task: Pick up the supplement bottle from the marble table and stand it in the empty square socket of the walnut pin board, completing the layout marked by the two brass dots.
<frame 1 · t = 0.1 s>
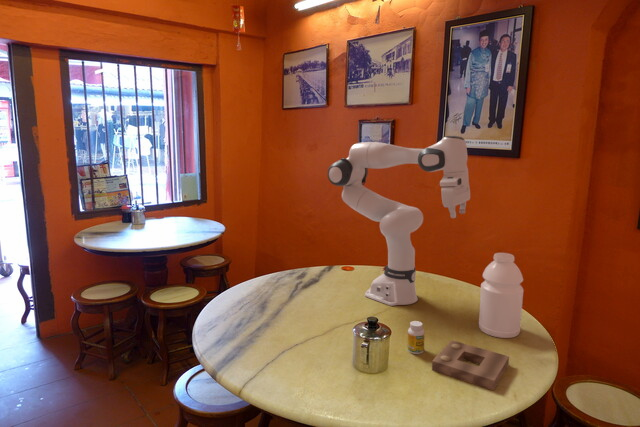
hand: (458, 215, 166), 39 cm above the table, tool pointing down, fingers open, 8 cm apart
bottle: (498, 330, 158), on the table
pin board: (470, 367, 133), on the table
supplement bottle: (415, 351, 144), on the table
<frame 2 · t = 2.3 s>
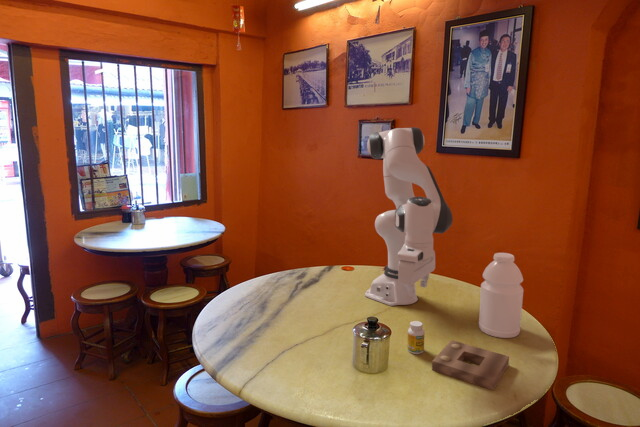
hand: (417, 291, 140), 21 cm above the table, tool pointing down, fingers open, 8 cm apart
nothing on the table moved.
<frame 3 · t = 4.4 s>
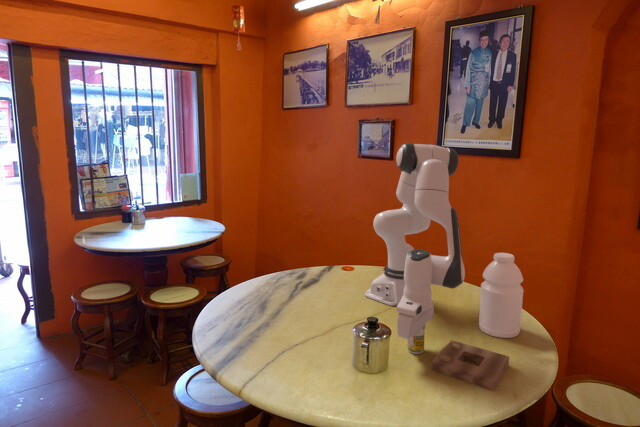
hand: (416, 340, 143), 4 cm above the table, tool pointing down, fingers closed on supplement bottle, 5 cm apart
supplement bottle: (415, 351, 144), on the table, touching gripper
everything else where it was.
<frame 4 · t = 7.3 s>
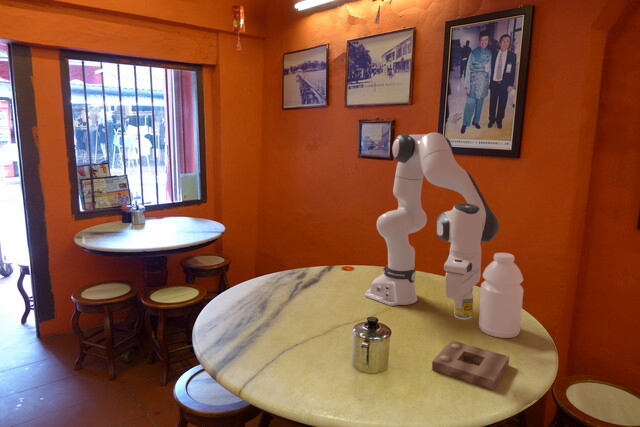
hand: (463, 304, 131), 20 cm above the table, tool pointing down, fingers closed on supplement bottle, 5 cm apart
supplement bottle: (463, 316, 132), point 16 cm above the table, touching gripper
everything else where it was.
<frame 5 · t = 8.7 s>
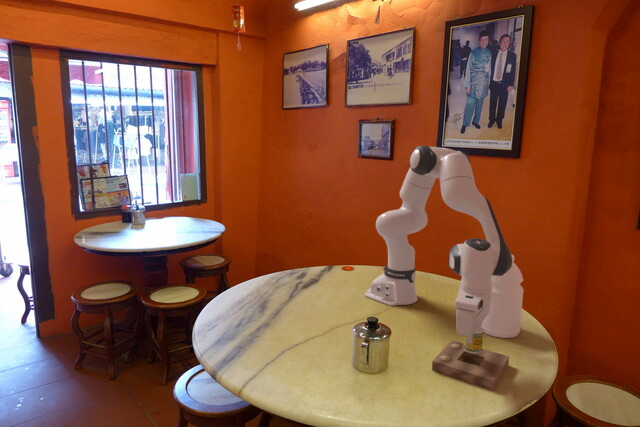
hand: (473, 337, 132), 10 cm above the table, tool pointing down, fingers closed on supplement bottle, 5 cm apart
supplement bottle: (472, 350, 132), point 6 cm above the table, touching gripper
everything else where it was.
when the fingers open (5 cm above the table, at t = 10.1 s): supplement bottle drops 1 cm, resting in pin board.
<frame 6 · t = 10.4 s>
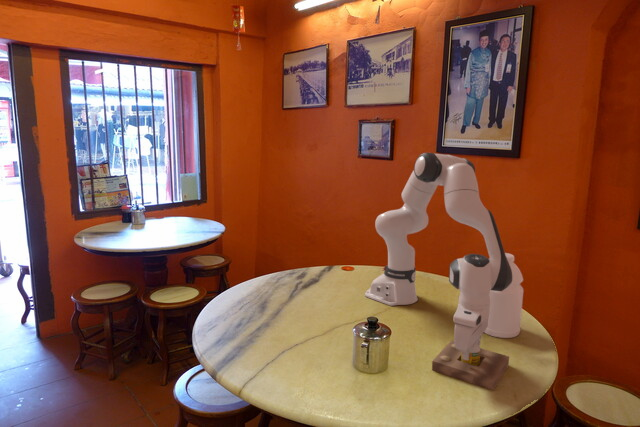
hand: (471, 352, 133), 5 cm above the table, tool pointing down, fingers open, 8 cm apart
supplement bottle: (469, 368, 133), resting in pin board
everything else where it was.
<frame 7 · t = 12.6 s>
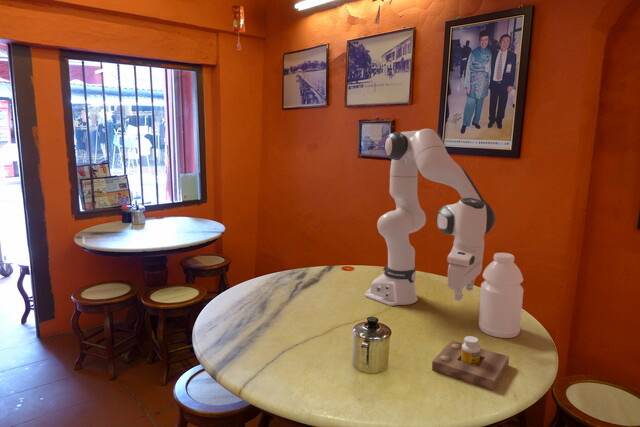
hand: (463, 294, 136), 21 cm above the table, tool pointing down, fingers open, 8 cm apart
nothing on the table moved.
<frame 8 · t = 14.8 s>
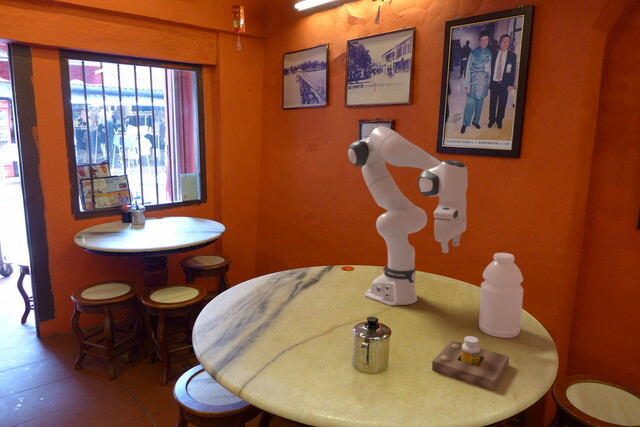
hand: (450, 249, 149), 31 cm above the table, tool pointing down, fingers open, 8 cm apart
nothing on the table moved.
at the end: supplement bottle 0.4 cm off-centre on the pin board, point 0.0 cm above the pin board's base; supplement bottle tilted 0°; the gripper is holding nothing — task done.
